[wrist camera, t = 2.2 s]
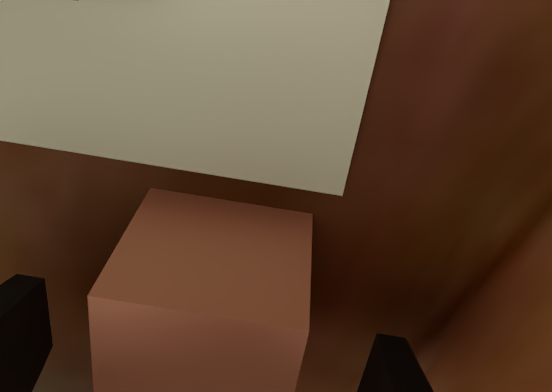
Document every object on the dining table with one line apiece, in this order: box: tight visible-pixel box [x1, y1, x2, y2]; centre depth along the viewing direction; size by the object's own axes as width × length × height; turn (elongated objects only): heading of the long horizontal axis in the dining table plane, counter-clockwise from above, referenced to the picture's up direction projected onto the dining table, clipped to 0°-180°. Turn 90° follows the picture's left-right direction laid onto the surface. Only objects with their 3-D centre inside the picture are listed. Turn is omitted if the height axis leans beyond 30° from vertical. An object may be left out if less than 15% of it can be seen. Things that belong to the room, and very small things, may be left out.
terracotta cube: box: [87, 188, 313, 392], centre depth 12 cm, size 4×4×4 cm
